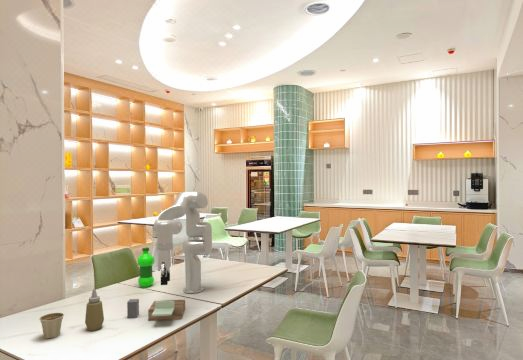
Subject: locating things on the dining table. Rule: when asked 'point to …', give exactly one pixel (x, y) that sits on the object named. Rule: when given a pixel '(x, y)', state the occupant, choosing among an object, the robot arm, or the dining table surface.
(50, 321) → the flower pot
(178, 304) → the socket
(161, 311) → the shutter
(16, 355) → the dining table surface
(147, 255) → the plastic bottle
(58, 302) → the dining table surface
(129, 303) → the plug
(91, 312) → the squeeze bottle
